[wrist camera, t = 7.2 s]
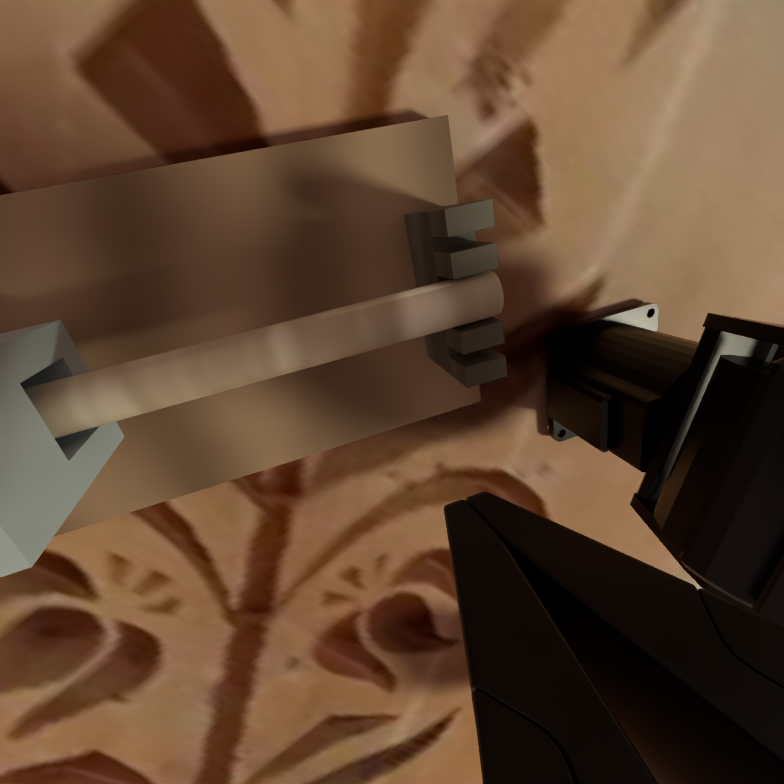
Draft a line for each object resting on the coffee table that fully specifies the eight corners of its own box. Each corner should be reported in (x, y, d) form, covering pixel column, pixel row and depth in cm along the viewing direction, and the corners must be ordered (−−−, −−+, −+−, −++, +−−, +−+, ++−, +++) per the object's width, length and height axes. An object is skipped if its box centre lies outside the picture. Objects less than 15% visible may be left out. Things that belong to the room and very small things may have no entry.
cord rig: (437, 121, 16) (532, 59, 10) (471, 393, 21) (548, 455, 15) (-370, 268, 12) (-994, 302, 6) (-88, 568, 17) (-277, 746, 11)
